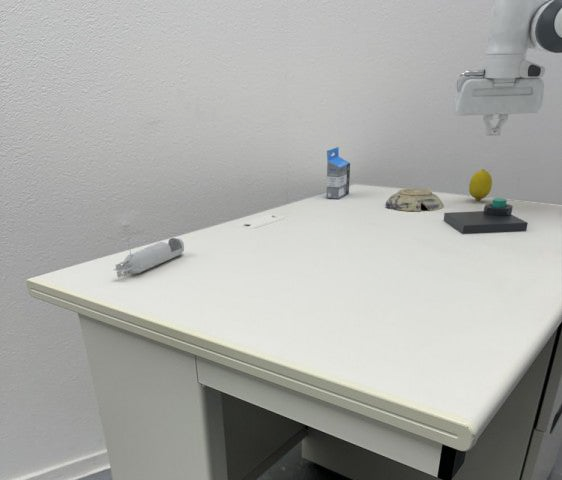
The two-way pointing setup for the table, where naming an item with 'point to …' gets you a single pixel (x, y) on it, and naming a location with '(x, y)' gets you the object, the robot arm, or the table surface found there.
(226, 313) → the table surface
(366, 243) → the table surface
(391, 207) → the decorative bowl
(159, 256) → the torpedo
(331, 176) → the ink cartridge box
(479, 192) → the lemon
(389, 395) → the table surface
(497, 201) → the scale button
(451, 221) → the dark grey button base
